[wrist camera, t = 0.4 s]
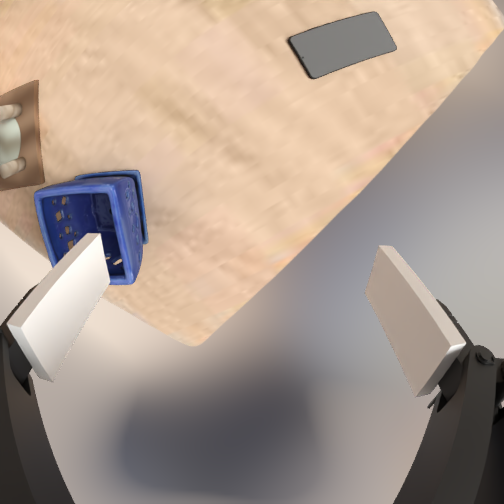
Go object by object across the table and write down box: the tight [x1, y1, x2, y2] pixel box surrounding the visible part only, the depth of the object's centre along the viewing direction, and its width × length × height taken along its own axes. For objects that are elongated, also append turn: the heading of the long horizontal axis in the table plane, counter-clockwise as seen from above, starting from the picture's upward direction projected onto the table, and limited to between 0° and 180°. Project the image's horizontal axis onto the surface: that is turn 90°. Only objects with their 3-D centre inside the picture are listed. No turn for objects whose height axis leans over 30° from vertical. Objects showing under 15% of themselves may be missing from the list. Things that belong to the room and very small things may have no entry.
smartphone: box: [289, 12, 397, 79], centre depth 29 cm, size 7×1×15 cm
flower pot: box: [34, 170, 148, 285], centre depth 35 cm, size 13×13×12 cm
